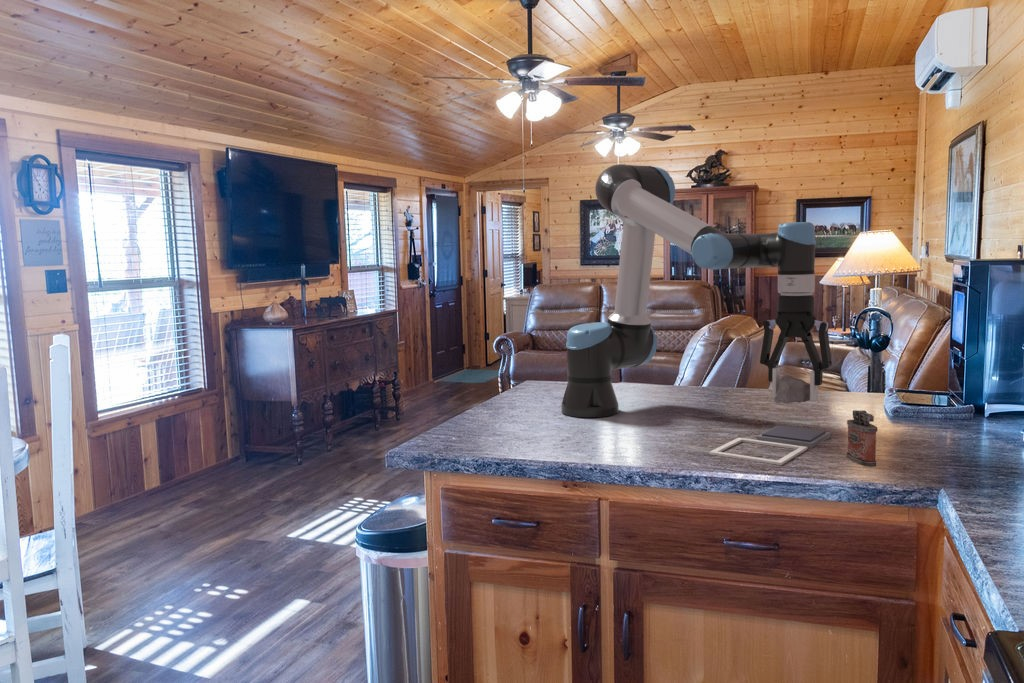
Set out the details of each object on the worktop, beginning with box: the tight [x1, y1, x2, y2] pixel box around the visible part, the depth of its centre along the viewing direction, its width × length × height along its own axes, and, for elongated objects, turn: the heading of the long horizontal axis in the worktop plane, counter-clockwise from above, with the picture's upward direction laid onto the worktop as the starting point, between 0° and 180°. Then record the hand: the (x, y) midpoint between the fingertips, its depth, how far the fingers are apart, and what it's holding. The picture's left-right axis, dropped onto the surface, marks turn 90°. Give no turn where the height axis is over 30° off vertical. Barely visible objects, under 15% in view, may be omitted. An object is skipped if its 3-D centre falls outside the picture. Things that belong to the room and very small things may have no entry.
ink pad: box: [756, 424, 831, 449], centre depth 169 cm, size 12×12×1 cm
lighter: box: [845, 409, 878, 468], centre depth 149 cm, size 8×3×10 cm, turn 5°
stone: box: [773, 374, 811, 404], centre depth 167 cm, size 10×8×6 cm
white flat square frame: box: [708, 437, 809, 466], centre depth 159 cm, size 15×15×1 cm
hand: (794, 398), depth 168 cm, fingers closed on stone, 7 cm apart
